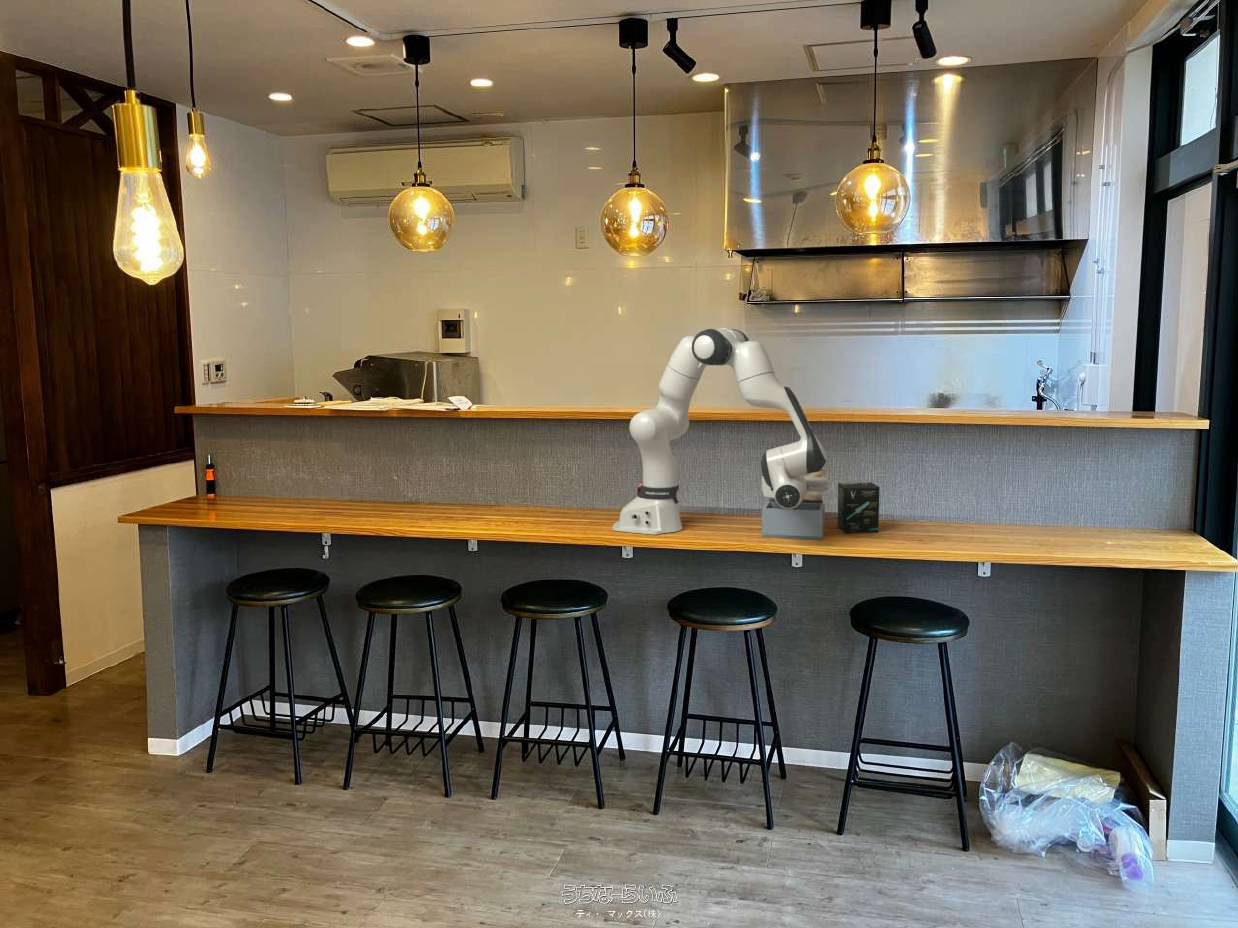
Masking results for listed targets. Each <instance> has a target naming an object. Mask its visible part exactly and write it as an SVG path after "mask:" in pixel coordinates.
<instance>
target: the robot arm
mask: <svg viewBox="0 0 1238 928" xmlns="http://www.w3.org/2000/svg"><path fill="white" fill-rule="evenodd" d="M726 365H728V366H730V367H731V368H732V370H733V372H734V374H735V377H736V381H737V385H738V388H739V391H740V393H741V396H742V398H743V400H744V401H745V402H746V403H747V404H749V405H750V406H753V407H756V408H760V409H762V408H763V409H774V410H775V409H776V410H781V411H783V412H786V414H788V415H789V417H790V418H791V420H792V423H793V424H794V427H795V429H796V431H797V433H798V435H799V436H800V439H799V440H798V441H795V442H791V443H788V444H784V445H780V446H776V447H774V448H771V449H767V450H765V451H764V453H763V455H762V457H761V460H760V468H761V473H762V476H761V484H760V486H761V491H762V493H763V497H765V498H775V500H776V502H777V504H778V505H779V506H781V507H783V508H786V509H791V508H795V507H797V506H798V505H799V504H800V503H801V502H802V501H803V499H804V497H805V494H806V492H823V493H825V492H826V491H828V488H829V479H828V478H827V477H824V478H821V477H803V476H802V475H803V474H807V473H808V474H809V473H814V472H819V471H820V470H821V469H824V466H825V465H826V462H827V453H826V450H825V448H824V446H823V445H822V443H821V442H820V440H819V439H818V437H817V436H816V434H815V432H814V430H813V427H812V425H811V424H810V422H809V419H808V417H807V416H806V413H805V411H804V410H803V407H802V406H801V404H800V402H799V401H798V398H797V397H796V395H795V393H794V392H793V391H792V389H791V388H790V387H789V386H784V385H783V384H782V383H780V381H779V379H778V378H777V376H776V373H775V370H774V367H773V364H772V362H771V359H770V356H769V354H768V353H767V350H766V349H765V347H764V345H763V344H762V343H761V342H760V341H756V340H749V338H748V336H747V334H745V333H744V332H743V331H741V330H739V329H736V328H729V327H728V328H727V327H718V328H707V329H704V330H700V331H699V332H698V333H697V334H696V335H687V336H684V337H683V338H682V339H681V340H680V341H679V342H678V344H677V345H676V347H675V349H674V350H673V352H672V354H671V355H670V358H669V360H668V362H667V364H666V366H665V369H664V372H663V374H662V375H661V378H660V381H659V383H658V390H659V397H658V402H657V405H655V407H652V408H647V409H643V410H641V411H640V412H638V413H637V414H635V415H634V416H633V417H632V418H631V420H630V422H629V433H630V436H631V437H632V439H633V440H634V441H635V442H636V444H637V445H638V449H639V452H640V457H641V462H642V483H640V484H638V487H636V489H635V491H636V497H635V498H634V499H632V500H631V501H629V502H628V503H627V504H626V505H624V506H623V507H622V508H621V510H620V514H619V520H617V521H616V522H615V523H613V525H612V528H611V529H612V531H614V532H624V533H632V534H634V533H635V534H645V535H655V536H656V535H660V534H668V533H675V532H679V531H682V530H683V528H684V527H683V525H682V519H681V515H680V507H679V502H680V485H679V484H678V481H679V480H678V475H679V474H678V469H679V468H678V464H679V463H678V461H677V458H676V457H675V456H674V455H673V452H672V448H671V444H670V441H672V440H677V439H678V438H681V436H683V435H684V434H686V432H687V431H688V430H689V427H690V418H689V415H688V414H689V411H690V410H689V409H690V404H691V401H692V398H693V395H694V393H695V391H696V388H697V387H698V384H699V383H700V380H701V377H702V376H703V372H704V370H705V369H706V367H707V366H726Z"/></svg>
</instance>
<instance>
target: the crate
mask: <svg viewBox="0 0 1238 928" xmlns="http://www.w3.org/2000/svg"><path fill="white" fill-rule="evenodd" d="M825 506H826V504H825V503H824V502H823V503H800V504H799V505H798V506H797V507H795V508H791V509H786V508H783V507H781V506H779V505H778V504H777V502H771V501H769V500H768V501H766V502H765V503H764V505H763V506H762V508H761V538H765V537H777V538H776V539H786V538H787V539H790V540H805V541H807V540H808V541H822V540H823V538H824V534H825V518H826V517H825V515H826V514H825V513H826V512H825V510H826V507H825Z"/></svg>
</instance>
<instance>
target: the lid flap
mask: <svg viewBox="0 0 1238 928" xmlns="http://www.w3.org/2000/svg"><path fill="white" fill-rule="evenodd" d="M825 475H826V469H825V468H822V469H821V470H820V471H819V472H814V473H809V474H808V473H807V474H803V475H802V476H803V477H821V478H826V477H825ZM823 493H824V492H806V494H805V497H804V499H803V501H802V502H801V503H823V504H824V502H823V501H824V500H823V496H824V495H823ZM768 498H769V499H768V501H771V502H776V500H775V498H770V497H768Z"/></svg>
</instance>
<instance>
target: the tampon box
mask: <svg viewBox="0 0 1238 928" xmlns="http://www.w3.org/2000/svg"><path fill="white" fill-rule="evenodd" d="M879 513H880V486H878V485H876V484H875V483H873V482H868V481H867V482H844V483H843V482H841V483H840V482H838V483H837V527H838V528H839V530H840V531H842V533H844V534H869V533H870V534H871V533H873V534H874V533H875V534H876V533H879V519H880V514H879Z"/></svg>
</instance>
